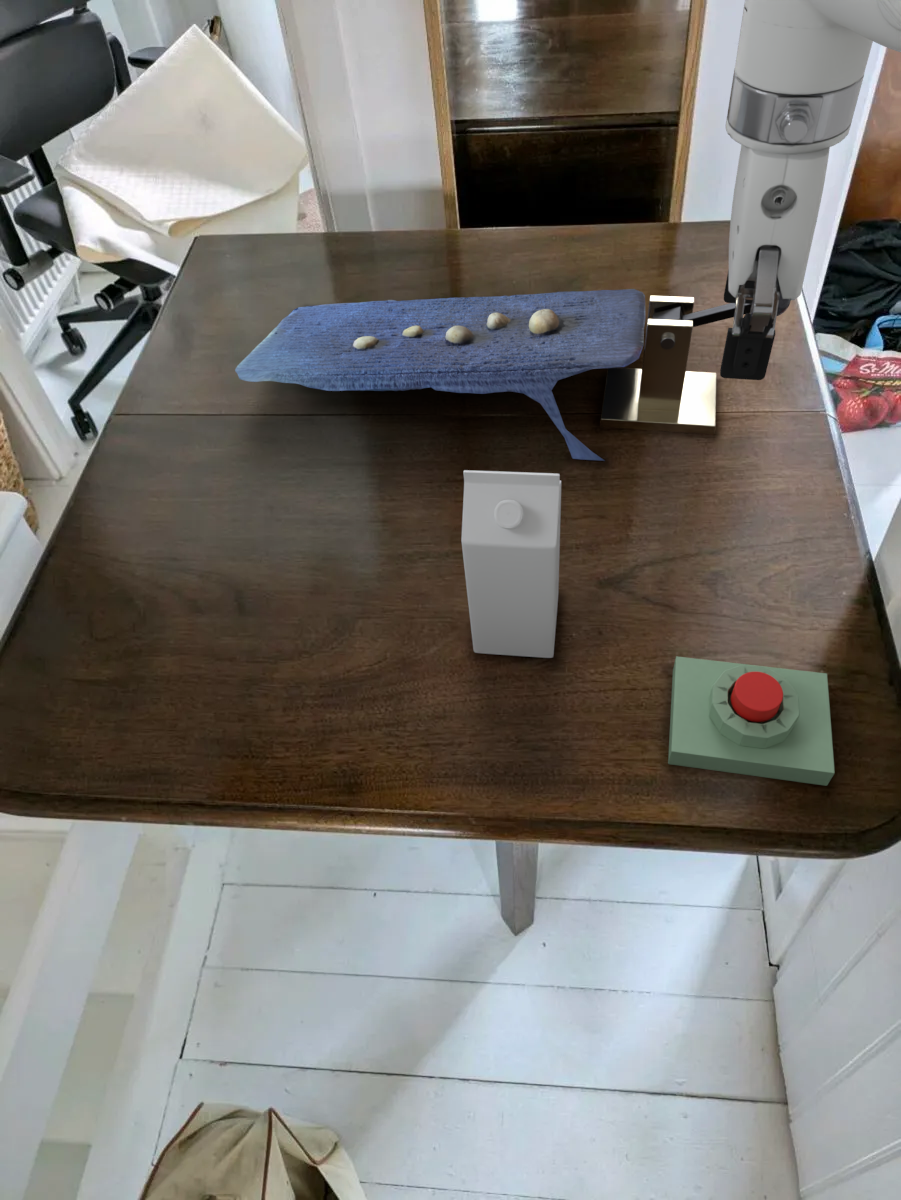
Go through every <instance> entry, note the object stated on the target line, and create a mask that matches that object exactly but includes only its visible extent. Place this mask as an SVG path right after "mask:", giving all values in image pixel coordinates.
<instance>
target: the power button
mask: <svg viewBox="0 0 901 1200" xmlns="http://www.w3.org/2000/svg"><path fill="white" fill-rule="evenodd" d="M782 700H783V690H782V688H781V686H780V684H779V683H778V681H777V680H776V679H774V678H773V677H772V676H770V675H768V674H766V673H762V672H748V673H745V674H743V675H742V676H740V677H739V678H738V679H737V681H736V683H735V686H734V688H733V691H732V695H731V704H732V707H733V708H734V710H735V711H736V713H737V714H738V715H740V716H741V717H742V718H744V719H746V720H748V721H752V722H765V721H768V720H770V719H772V718H773V717H774V716H775V715H776V713H777V712H778V709H779V707H780V705H781V702H782Z"/></svg>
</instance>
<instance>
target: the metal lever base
mask: <svg viewBox="0 0 901 1200" xmlns="http://www.w3.org/2000/svg"><path fill="white" fill-rule="evenodd" d="M694 306H695V297H694V296H673V295H671V296H669V295H649V303H648V309H647V310H648V311H647V319H646V329H645V337H644V345H643V347H644V348H643V357H642V365H641V368H634V367H633V368H632V367H615V368H607V370H606V378H605V385H604V392H603V400H602V407H601V412H600V413H601V414H600V424H599V427H600V428H608V429H624V430H636V431H637V430H639V431H652V432H653V431H655V432H666V433H667V432H669V433H684V434H698V435H699V434H700V435H715V431H716V427H717V425H716V421H717V375H718V373H717V372H708V371H707V372H706V371H691V370H690V371H689V370H687V366H688V360H689V355H690V354H689V353H690V348H691V342H692V336H693V328H694V327H693V321H688V320H664V319H653V314H654V313H657V312H661V311H665V310H669V309H673V308H677V307H681V310H682V313H683V315H686V314H690V313H694Z"/></svg>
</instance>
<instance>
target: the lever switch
mask: <svg viewBox="0 0 901 1200" xmlns="http://www.w3.org/2000/svg"><path fill="white" fill-rule="evenodd" d="M791 301H792V300H790V299H783V298H782V294H781V290H780V297H779V303H778V310H777V317H779V316H781V315H783V314H784V313H785V312H786V311H787V310H788V308H789V307H790V304H791ZM735 306H736V303H725V304H722V305H717V306H714V307H710V308H706V309H702V310H699V311H695V312H694V311H693V313H690V314H686V315H683V313H682V310H681V307H677V308H673V309H669V310H665V311H661V312H657V313H654V314H653V319H664V320H688V321H693V328H696V327H700V326H704V325H708V324H712V323H716V322H720V321H724V320H728V319H732V318H734V313H735ZM751 306H752V304H745V305H744V313H743V316H745V314H746V313H750V311H751Z"/></svg>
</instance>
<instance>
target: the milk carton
mask: <svg viewBox="0 0 901 1200" xmlns="http://www.w3.org/2000/svg"><path fill="white" fill-rule="evenodd" d="M560 479H561V475H560V473H555V472H554V473H552V472H526V471H525V472H524V471H499V470H470V469H469V470H468V469H464V470H463V499H462V501H463V502H462V517H461V518H462V520H461V538H460V539H461V540H460V541H461V549H462V560H463V568H464V579H465V586H466V595H467V603H468V605H467V606H468V613H469V621H470V631H471V632H470V633H471V641H472V650H473V652H474V653H475V654H486V655H498V656H499V655H501V656H512V657H530V658H543V659H553V658H554V656H555V655H554V654H555V641H556V631H557V630H556V629H557V620H558V619H557V616H558V606H559V605H558V603H559V589H560V588H559V587H560V586H559V585H560V553H561V550H560V549H561V513H562V480H560Z"/></svg>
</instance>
